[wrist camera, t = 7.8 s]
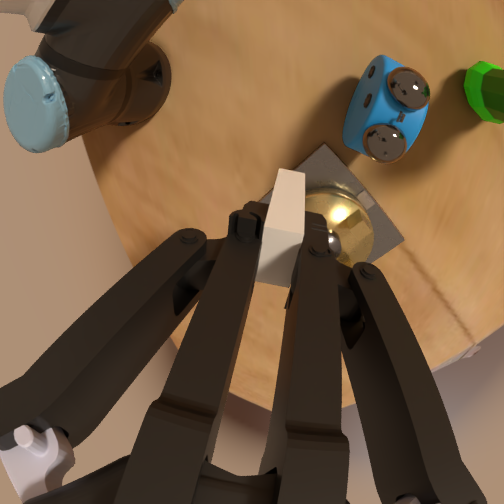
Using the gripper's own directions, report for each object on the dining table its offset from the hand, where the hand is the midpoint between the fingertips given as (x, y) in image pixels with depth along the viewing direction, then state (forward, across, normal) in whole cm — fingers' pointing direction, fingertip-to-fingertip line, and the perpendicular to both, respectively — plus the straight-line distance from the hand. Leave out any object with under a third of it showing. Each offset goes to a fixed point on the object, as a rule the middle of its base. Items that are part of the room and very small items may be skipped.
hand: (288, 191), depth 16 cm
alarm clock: (+27, +10, +5) cm, 29 cm away
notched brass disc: (+25, +8, -17) cm, 31 cm away
